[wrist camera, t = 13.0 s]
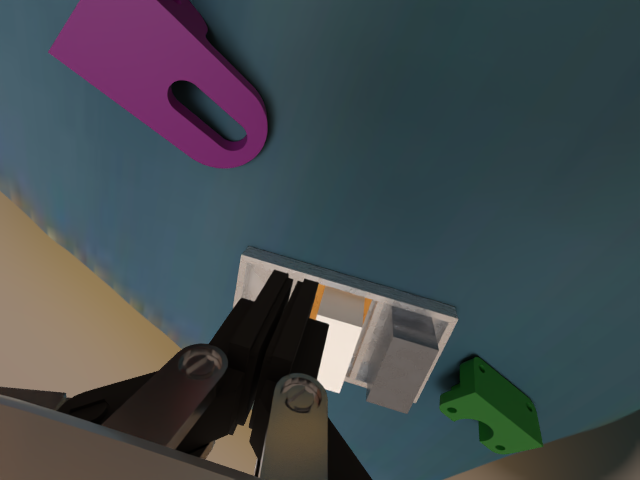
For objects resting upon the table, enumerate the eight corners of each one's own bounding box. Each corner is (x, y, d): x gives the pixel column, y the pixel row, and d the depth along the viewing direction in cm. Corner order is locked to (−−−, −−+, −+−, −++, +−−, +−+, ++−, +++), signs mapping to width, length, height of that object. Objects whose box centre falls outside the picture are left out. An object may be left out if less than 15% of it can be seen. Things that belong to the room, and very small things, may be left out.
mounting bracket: (282, 96, 41) (139, -54, 31) (286, 127, 35) (109, -48, 25) (230, 147, 45) (85, 28, 34) (225, 183, 38) (47, 51, 28)
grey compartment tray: (454, 306, 42) (466, 342, 36) (413, 388, 47) (418, 430, 42) (248, 245, 43) (227, 270, 37) (234, 333, 49) (213, 366, 43)
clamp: (447, 356, 50) (425, 394, 43) (482, 340, 46) (464, 378, 39) (504, 430, 48) (491, 483, 41) (546, 420, 44) (539, 475, 37)
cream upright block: (325, 285, 43) (317, 314, 37) (364, 297, 42) (362, 327, 37) (308, 347, 47) (298, 380, 41) (344, 358, 46) (339, 393, 41)
